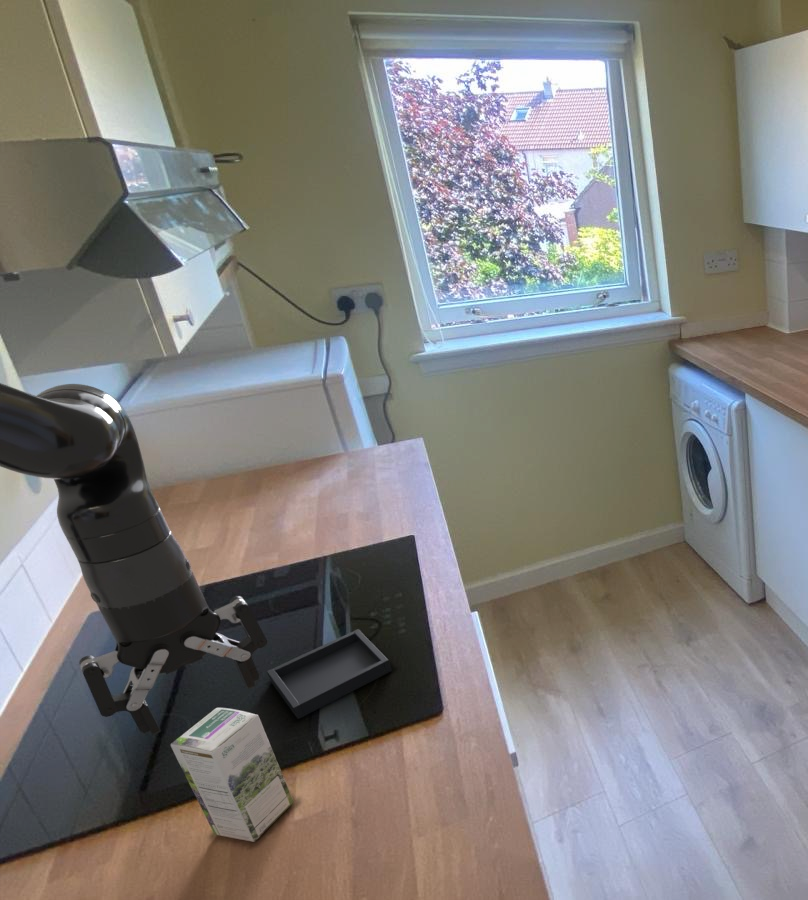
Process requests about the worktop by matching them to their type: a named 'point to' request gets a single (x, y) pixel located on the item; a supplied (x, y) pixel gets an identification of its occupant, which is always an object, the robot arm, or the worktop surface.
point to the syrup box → (233, 773)
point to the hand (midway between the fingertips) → (204, 706)
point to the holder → (328, 672)
